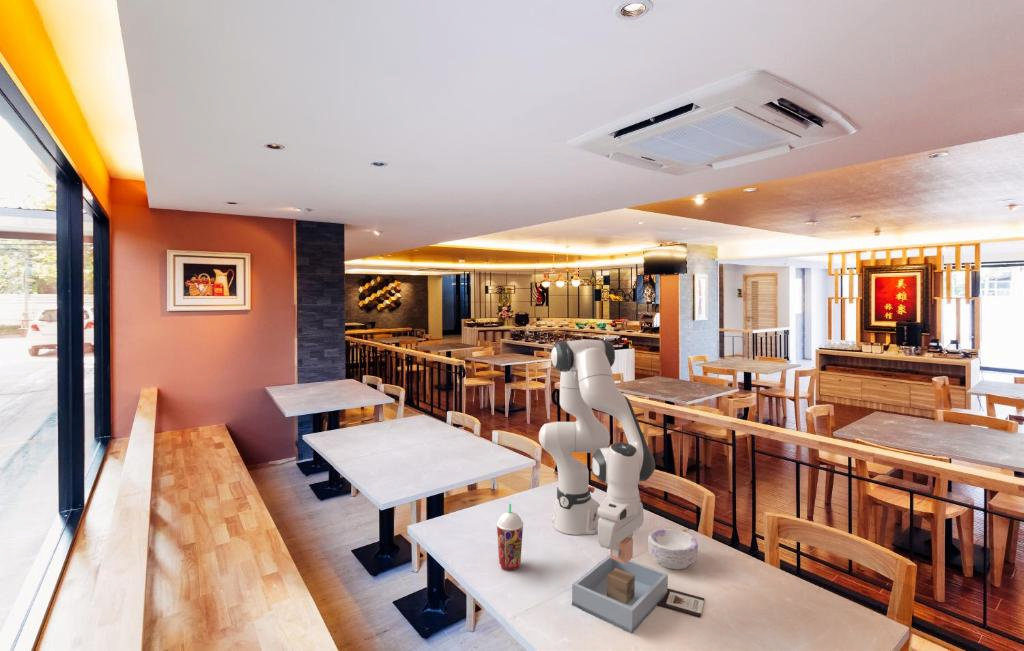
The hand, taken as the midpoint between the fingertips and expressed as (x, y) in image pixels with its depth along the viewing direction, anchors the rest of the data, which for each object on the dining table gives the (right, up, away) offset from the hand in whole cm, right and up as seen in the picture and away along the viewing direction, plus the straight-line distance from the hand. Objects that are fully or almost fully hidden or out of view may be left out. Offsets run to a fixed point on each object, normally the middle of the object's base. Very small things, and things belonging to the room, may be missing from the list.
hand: (621, 551), depth 140 cm
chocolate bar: (+14, -15, +1) cm, 20 cm away
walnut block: (0, -13, +1) cm, 13 cm away
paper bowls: (+21, -13, +21) cm, 33 cm away
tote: (0, -14, +1) cm, 14 cm away
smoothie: (-31, -13, +18) cm, 38 cm away
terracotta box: (0, -2, 0) cm, 2 cm away
